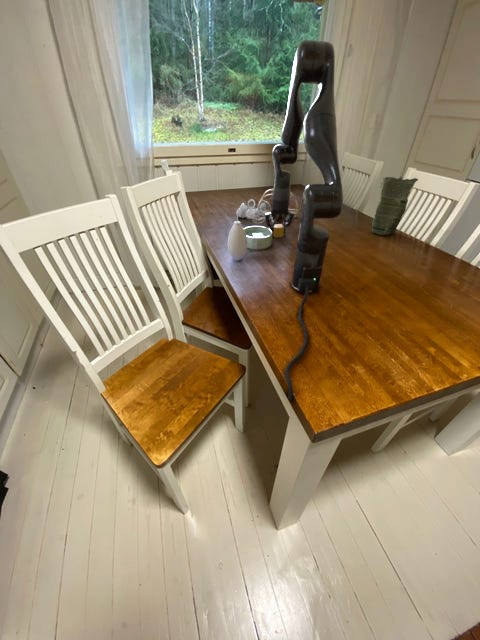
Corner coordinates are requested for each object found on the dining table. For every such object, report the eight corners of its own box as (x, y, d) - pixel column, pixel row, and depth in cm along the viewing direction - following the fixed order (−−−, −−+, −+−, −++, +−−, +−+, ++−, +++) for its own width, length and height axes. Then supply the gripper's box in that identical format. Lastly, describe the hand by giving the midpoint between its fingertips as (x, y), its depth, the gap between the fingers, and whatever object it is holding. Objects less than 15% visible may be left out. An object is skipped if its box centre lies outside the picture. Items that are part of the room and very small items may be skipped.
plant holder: (305, 227, 144) (311, 195, 134) (240, 228, 139) (241, 195, 129) (289, 209, 165) (294, 180, 155) (232, 209, 160) (233, 179, 150)
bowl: (274, 249, 120) (275, 237, 116) (243, 250, 118) (243, 238, 115) (267, 236, 130) (268, 225, 127) (239, 238, 129) (239, 226, 125)
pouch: (364, 230, 137) (381, 175, 121) (381, 226, 142) (399, 172, 126) (382, 238, 130) (403, 180, 114) (399, 233, 134) (421, 177, 118)
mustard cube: (283, 236, 130) (284, 227, 127) (273, 237, 130) (274, 227, 127) (280, 233, 134) (281, 223, 131) (271, 233, 133) (272, 224, 130)
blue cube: (263, 246, 121) (264, 236, 118) (253, 247, 120) (253, 237, 117) (261, 242, 124) (261, 232, 121) (251, 243, 123) (251, 233, 121)
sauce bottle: (230, 264, 108) (229, 219, 97) (226, 256, 114) (224, 212, 103) (249, 262, 110) (250, 217, 99) (243, 254, 116) (244, 210, 104)
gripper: (267, 200, 117) (264, 238, 128) (299, 199, 119) (294, 237, 130) (263, 195, 123) (261, 232, 134) (294, 194, 125) (289, 231, 135)
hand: (277, 234), depth 132 cm, fingers closed on mustard cube, 4 cm apart
